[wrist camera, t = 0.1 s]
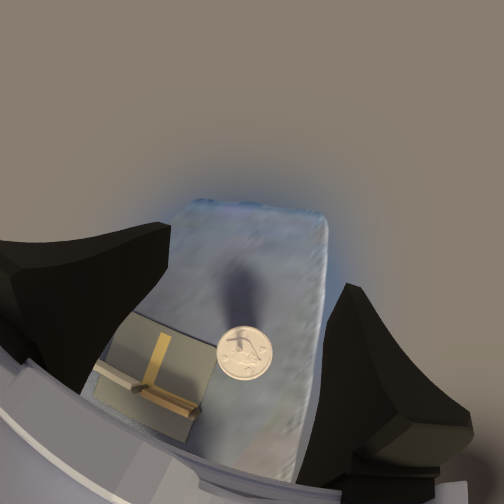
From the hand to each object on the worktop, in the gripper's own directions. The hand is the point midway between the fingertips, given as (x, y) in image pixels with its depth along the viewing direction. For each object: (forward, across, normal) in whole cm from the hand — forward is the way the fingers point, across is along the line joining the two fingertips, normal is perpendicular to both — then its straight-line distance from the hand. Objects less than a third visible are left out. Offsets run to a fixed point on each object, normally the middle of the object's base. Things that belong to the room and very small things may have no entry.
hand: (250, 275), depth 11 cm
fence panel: (+11, +17, +32) cm, 38 cm away
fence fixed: (+11, +8, +33) cm, 36 cm away
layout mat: (+12, +12, +32) cm, 36 cm away
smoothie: (+19, 0, +26) cm, 32 cm away
